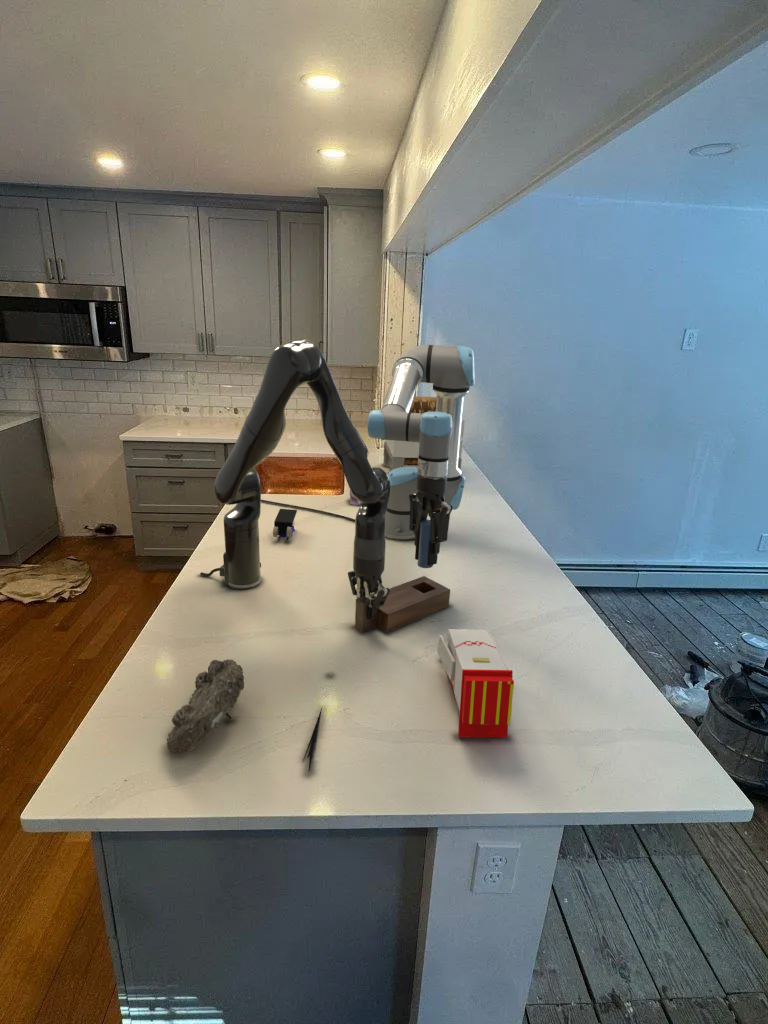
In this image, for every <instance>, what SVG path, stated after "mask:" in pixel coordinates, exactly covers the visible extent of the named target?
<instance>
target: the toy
mask: <svg viewBox="0 0 768 1024" xmlns="http://www.w3.org/2000/svg"><path fill="white" fill-rule="evenodd" d="M446 640H447V643H446V641H445V639H444V636H443V635H442V634H439V637H438V646H437V656H438V657H439V659H440V661H441V663H442V666H443V668H444V670H445V672H446V674H447V677H448V679H449V681H450V684H451V687H452V690H453V693H454V697H455V701H456V705H457V708H458V711H459V714H458V715H459V716H458V730H457V731H458V732H457V737H458V738H508V731H509V726H510V725H511V717H512V707H513V697H514V696H513V695H514V684H515V680H514V679H513V673H514V671H513V670H512V669H508V667H507V665H506V662H505V661H504V659H503V658H502V655H501V653H500V651H499V649H498V647H497V643H496V639H495V637H494V635H493V634H491V632H490V631H489V629H467V628H466V629H465V628H463V629H461V628H460V629H459V628H448V630H447V639H446Z"/></svg>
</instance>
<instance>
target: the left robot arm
mask: <svg viewBox="0 0 768 1024" xmlns="http://www.w3.org/2000/svg"><path fill="white" fill-rule="evenodd" d="M305 384H307V385H308V387H309V388H310V390H311V391H312V393H313V395H314V397H315V398H316V401H317V404H318V407H319V412H320V418H321V425H322V430H323V434H324V438H325V440H326V442H327V443H328V446H329V447H330V449H331V451H332V452H333V453H334V456H335V457H336V458H337V461H338V462H339V463H340V465H341V467H342V471H343V474H344V477H345V480H346V483H347V485H348V488H349V491H350V490H351V492H352V493H353V495H354V496H355V498H356V499H357V500H358V501H360V502H361V504H360V505H359V509H358V510H357V512H356V514H355V521H354V522H355V523H354V525H355V526H354V538H353V552H352V553H353V555H352V570H351V571H348V572H347V577H348V580H349V585H350V590H351V593H352V595H353V596H356V598H355V599H357V598H360V597H363V596H365V595H366V598H367V599H368V614H367V619H368V620H369V621H371V620H373V619H375V618H376V617H377V608H378V607H380V606H383V605H384V603H385V601H386V599H387V597H388V594H389V592H390V588H389V587H385V586H384V585H383V580H382V575H383V573H384V571H385V565H386V537H385V516H386V510H387V506H388V501H389V495H390V479H389V476H388V473H387V472H386V471H385V470H384V469H383V468H381V467H372V466H371V463H370V462H369V460H368V459H369V458H368V456H369V449H368V446H367V445H366V443H365V442H364V439H363V438H362V436H361V435H360V433H359V431H358V429H357V428H356V426H355V424H354V422H353V421H352V419H351V417H350V415H349V412H348V411H347V409H346V408H345V404H344V403H343V400H342V397H341V395H340V393H339V390H338V388H337V385H336V382H335V381H334V378H333V375H332V372H331V370H330V368H329V365H328V363H327V360H326V358H325V356H324V354H323V352H322V350H321V348H320V347H319V346H318V344H317V343H315V342H314V341H313V340H311V339H308V338H300V339H297V340H293V341H290V342H287V343H283V344H280V345H279V346H278V347H276V348H275V349H273V351H272V353H271V354H270V356H269V359H268V362H267V365H266V368H265V371H264V374H263V377H262V381H261V385H260V388H259V391H258V393H257V394H256V397H255V399H254V401H253V404H252V406H251V408H250V410H249V412H248V414H247V417H246V419H245V420H244V423H243V424H242V428H241V430H240V432H239V435H238V437H237V439H236V442H235V444H234V445H233V447H232V448H231V451H230V454H229V455H228V457H227V458H226V460H225V462H224V463H223V465H222V466H221V467H220V469H219V471H218V473H217V475H216V477H215V480H214V495H215V497H216V499H217V500H218V501H219V503H221V504H223V505H227V506H231V505H234V507H233V508H232V509H231V510H229V511H228V512H226V514H225V515H224V516H223V532H224V533H223V534H224V547H225V548H224V552H223V554H222V558H223V559H222V561H223V563H222V565H221V566H220V567H218V568H214V569H212V570H210V572H208V573H206V572H200V573H199V575H200V576H203V577H210V576H212V575H213V574H214V573H216V572H219V576H220V577H224V586H228V587H230V588H233V589H238V590H239V589H240V590H243V589H251V588H254V587H256V586H258V585H259V584H260V583H261V582H262V576H261V568H262V563H261V555H260V527H259V524H260V523H259V520H260V517H261V512H262V511H261V510H262V509H261V507H262V505H261V504H262V503H261V502H262V501H261V500H262V486H261V485H262V484H261V479H260V476H259V474H258V471H256V469H255V468H256V467H257V466H258V465H259V464H261V463H262V462H263V461H265V460H266V459H267V458H268V457H269V456H270V455H272V453H273V452H275V450H276V448H277V446H278V445H279V442H280V441H281V439H282V437H283V435H284V433H285V429H286V421H287V420H286V412H285V410H286V407H287V405H288V402H289V401H290V399H291V397H292V395H293V394H294V392H295V391H296V390H297V389H298V388H299V387H300V386H303V385H305ZM371 593H372V594H371ZM373 598H374V601H373V602H372V599H373Z"/></svg>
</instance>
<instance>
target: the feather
mask: <svg viewBox="0 0 768 1024" xmlns="http://www.w3.org/2000/svg"><path fill="white" fill-rule="evenodd" d="M329 675H330V676H331V675H332V674H331V673H330V674H329ZM322 710H323V707H321V708H320V710H319V713H318V716H317V719H316V723H315V725H314V728H313V731H312V733H311V737H310V739H309V742H308V745H307V748H306V751H305V754H304V757H303V760H302V763H301V767H302V765H303V763H304V761H305V758H308V759H309V760H308V762H307V763H308V764H307V766H308V771H310V770H311V766H312V765H311V764H312V760H313V757H315V756H314V755H315V751H316V749H315V746H317V739H318V733H319V729H320V722H321V717H322V712H323V711H322ZM313 754H314V755H313ZM306 755H307V757H306Z"/></svg>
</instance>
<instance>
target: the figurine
mask: <svg viewBox="0 0 768 1024" xmlns="http://www.w3.org/2000/svg"><path fill="white" fill-rule="evenodd" d="M348 501H349V502H348V503H349V504H350V505H353V506H360V504H361V502H360V501H358V500H357V499H356V498H355V496H354V495H353V493H352V492H351V490H350V489H349V499H348Z"/></svg>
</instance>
